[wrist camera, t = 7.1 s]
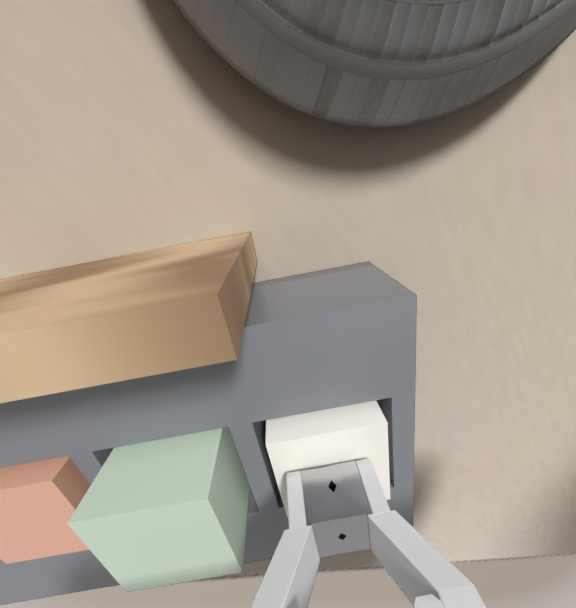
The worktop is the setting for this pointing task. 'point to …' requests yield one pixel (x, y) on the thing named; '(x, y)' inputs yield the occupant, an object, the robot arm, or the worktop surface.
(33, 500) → the key terracotta
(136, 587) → the key sage
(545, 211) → the worktop surface
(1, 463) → the grey slotted block
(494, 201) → the worktop surface
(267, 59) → the flying saucer
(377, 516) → the robot arm
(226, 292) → the placard
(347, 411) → the key ivory
